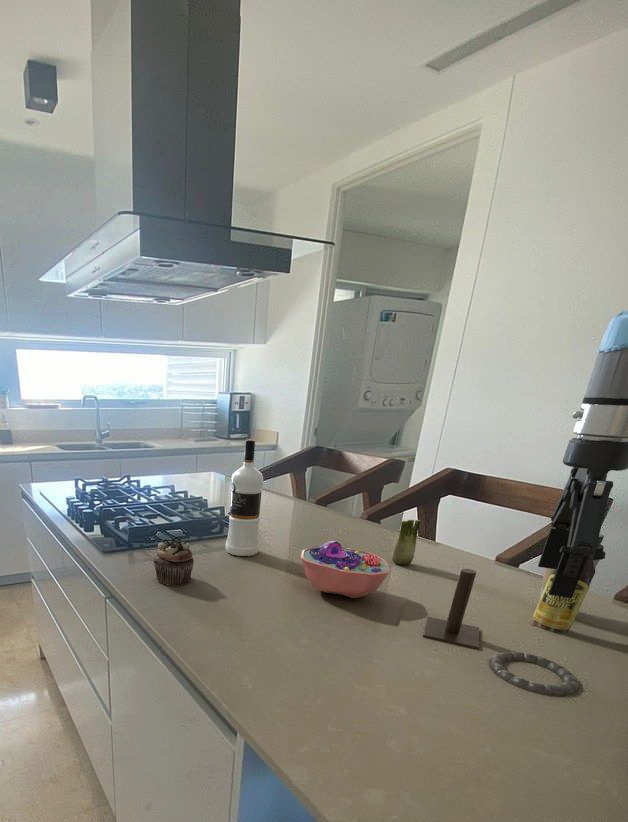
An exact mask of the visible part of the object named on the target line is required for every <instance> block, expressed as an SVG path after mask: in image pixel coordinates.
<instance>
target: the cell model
mask: <svg viewBox="0 0 628 822" xmlns="http://www.w3.org/2000/svg"><path fill="white" fill-rule="evenodd" d="M300 559H301V561H302V563H303V564H302V565H303V571H304V575H305V577H306V579H307V580H308V582H309V583H310V585H311V586H312V587H313V588H314V589H315V590H317V591H320V592H324V593H326V594H334V595H335V594H336V595H341V596H345V597H346V598H350V599H359V598H363V597H365V596H367V595H370V594H372V593H374V592H376V591H377V590H378V589H379V588H380V587H381V585H383V583H384V582H385V580H386V579H387V577H388V576H389V575H390V573H391V571H392V570H391V568H390V565H389V564H388V563H387V561H386V560H385V559H384V558H382V557H380V556H378V555H377V554H374V553H372V552H369V551H366V550H360V549H355V548H349V547H343V546H342V544H341V543H340V542H339V541H336V540H331V541H328V542H324V544H323V545H314V546H311V547H308V548H305V549H303V550H301V554H300Z"/></svg>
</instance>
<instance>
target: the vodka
mask: <svg viewBox="0 0 628 822" xmlns="http://www.w3.org/2000/svg"><path fill="white" fill-rule="evenodd" d="M255 450H256V440H255V439H245V440H244V453H243V454H244V455H243V464H242V466H241V467H240V468H238V469H237V470H235V471H234V472H233V473H232V475H231V478H230V479H231V487H230V491H231V492H230V504H229V505H230V506H229V515H228V531H227V538H226V541H225V551H226V552H227V553H228V554H229V553H230V555H231V554H232V556H234V555H236V556H235V557H240V556H248V557H253V556H254V555H255V556H256V555H257V554H258V553H259V551H260V544H259V528H260V527H259V526H260V520H261V517H260V516H261V515H260V514H261V503H262V491H263V487H264V475H263V474H262V472H260V470H258V469H257V468H256V467H254V462H255Z"/></svg>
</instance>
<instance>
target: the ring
mask: <svg viewBox="0 0 628 822" xmlns="http://www.w3.org/2000/svg"><path fill="white" fill-rule="evenodd" d="M511 662H522V663H528V664H531V665H536V666H538V667H541V668H544V669H546V670H547V671H549V672H551V673H553V674H555V675H556V676H557V677H558V678H559V679H560V680H561V684H556V685H553V684H543V683H538V682H534V681H531V680H527V679H525V678H522V677H520V676H517V675H515V674H514V673H513V672H511V671H509V670H507V668H505V666H504V665H505V664H506V663H511ZM488 667H489V669H490V670H491V671H492V673H493V674H494V675H495V676H497V677H498V678H499V679H501V680H503V681H505V682H506V683H508V684H510V685H512V686H514V687H517V688H519V689H521V690H524V691H527V692H531V693H535V694H539V695H542V696H551V697H565V696H572V695H574V694H575V693H577V691H578V690H579V688H580V684H579V682H578V679H577V677H576V676H575V675H574V674H573V673H572V672H571V671H569V669H568V668H566V667H564V666H562V665H560V664H559V663H557V662H556V661H553V660H550V659H547V658H544V657H541V656H539V655H536V654H535V655H534V654H531V653H526V652H517V651H505V652H499V653H496V654H495V655H493V656H491V658H489V660H488Z"/></svg>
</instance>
